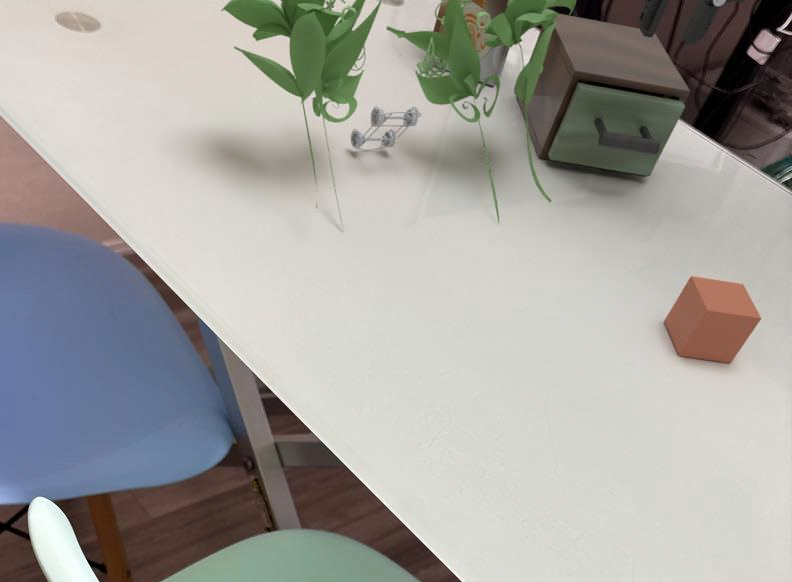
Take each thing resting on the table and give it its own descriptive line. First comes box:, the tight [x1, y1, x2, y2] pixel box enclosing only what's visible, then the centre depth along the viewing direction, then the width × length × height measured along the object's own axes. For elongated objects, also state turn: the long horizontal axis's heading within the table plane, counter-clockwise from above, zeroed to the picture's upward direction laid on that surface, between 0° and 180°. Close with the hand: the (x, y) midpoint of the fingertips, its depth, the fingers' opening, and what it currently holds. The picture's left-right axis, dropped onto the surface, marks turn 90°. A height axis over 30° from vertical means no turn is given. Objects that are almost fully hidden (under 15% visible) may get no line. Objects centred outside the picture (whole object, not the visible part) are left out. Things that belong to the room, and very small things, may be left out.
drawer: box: [548, 79, 686, 177], centre depth 106 cm, size 18×11×8 cm, turn 0°
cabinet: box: [515, 13, 691, 177], centre depth 108 cm, size 15×13×10 cm
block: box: [663, 275, 762, 364], centre depth 87 cm, size 5×5×5 cm
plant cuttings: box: [220, 0, 577, 231], centre depth 93 cm, size 35×17×22 cm
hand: (667, 36), depth 94 cm, fingers open, 3 cm apart
